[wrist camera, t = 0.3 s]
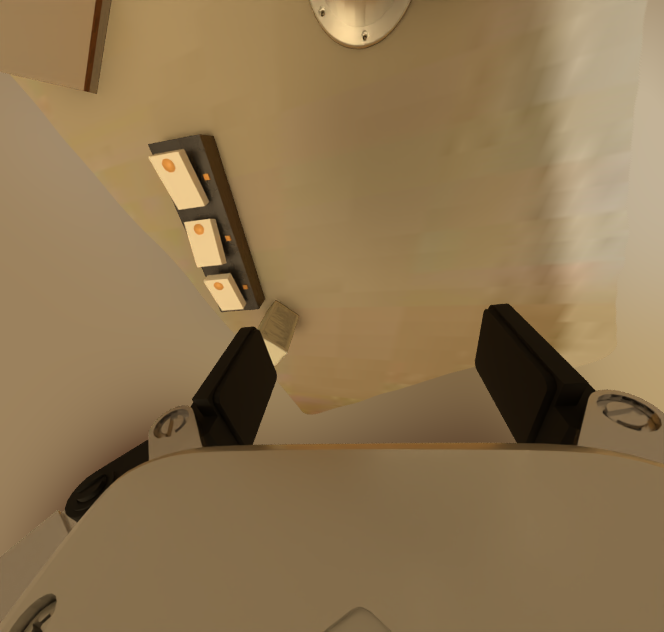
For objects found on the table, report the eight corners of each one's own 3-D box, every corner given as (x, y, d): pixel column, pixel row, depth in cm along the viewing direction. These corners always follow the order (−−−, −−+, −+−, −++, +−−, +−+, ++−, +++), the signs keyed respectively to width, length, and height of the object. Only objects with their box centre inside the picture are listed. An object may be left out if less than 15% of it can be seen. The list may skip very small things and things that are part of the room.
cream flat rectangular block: (190, 222, 41) (183, 222, 39) (215, 218, 40) (209, 218, 38) (203, 265, 43) (196, 267, 41) (226, 263, 42) (221, 264, 41)
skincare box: (265, 312, 54) (244, 349, 44) (276, 299, 52) (256, 334, 42) (289, 328, 56) (274, 367, 46) (301, 315, 54) (287, 353, 44)
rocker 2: (207, 275, 44) (202, 281, 43) (230, 273, 43) (226, 279, 42) (225, 305, 49) (221, 311, 48) (246, 303, 48) (243, 309, 47)
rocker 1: (154, 154, 34) (147, 157, 33) (183, 148, 34) (177, 151, 33) (183, 205, 39) (178, 210, 38) (209, 201, 39) (204, 206, 37)
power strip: (163, 145, 39) (144, 144, 35) (213, 136, 38) (198, 134, 34) (227, 302, 54) (218, 312, 50) (265, 299, 53) (258, 309, 49)
